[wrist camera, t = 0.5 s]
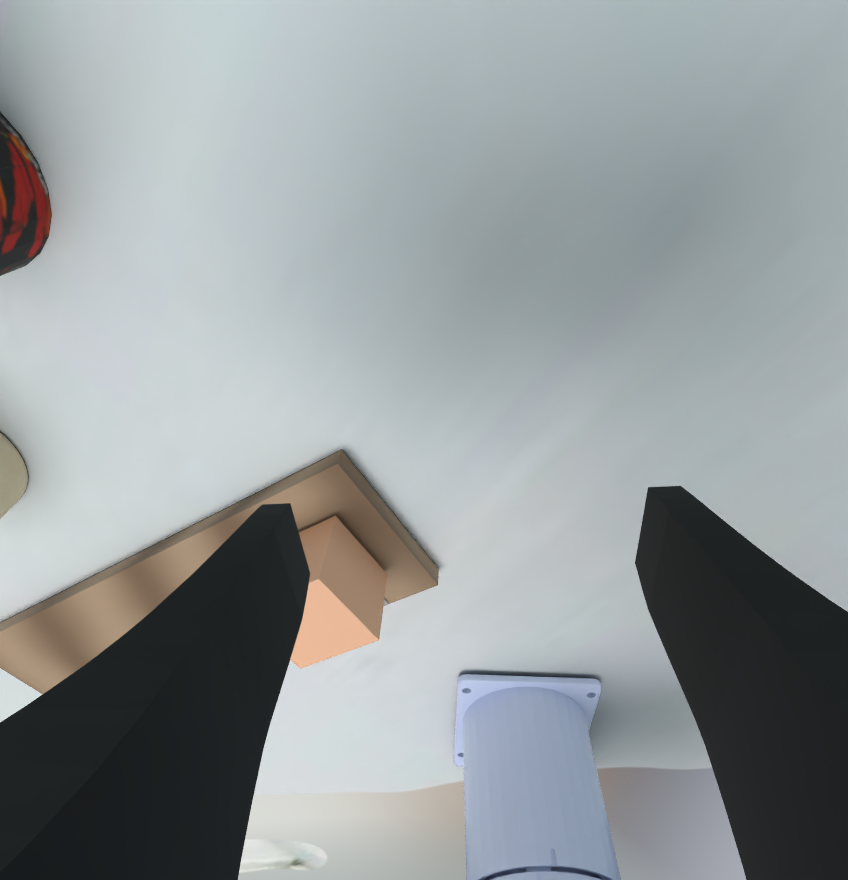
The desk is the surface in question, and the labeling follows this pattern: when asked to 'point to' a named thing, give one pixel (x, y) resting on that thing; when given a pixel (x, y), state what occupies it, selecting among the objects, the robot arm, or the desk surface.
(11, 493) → the candle
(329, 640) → the peach colored cube
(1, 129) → the deodorant
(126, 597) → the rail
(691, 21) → the desk surface
